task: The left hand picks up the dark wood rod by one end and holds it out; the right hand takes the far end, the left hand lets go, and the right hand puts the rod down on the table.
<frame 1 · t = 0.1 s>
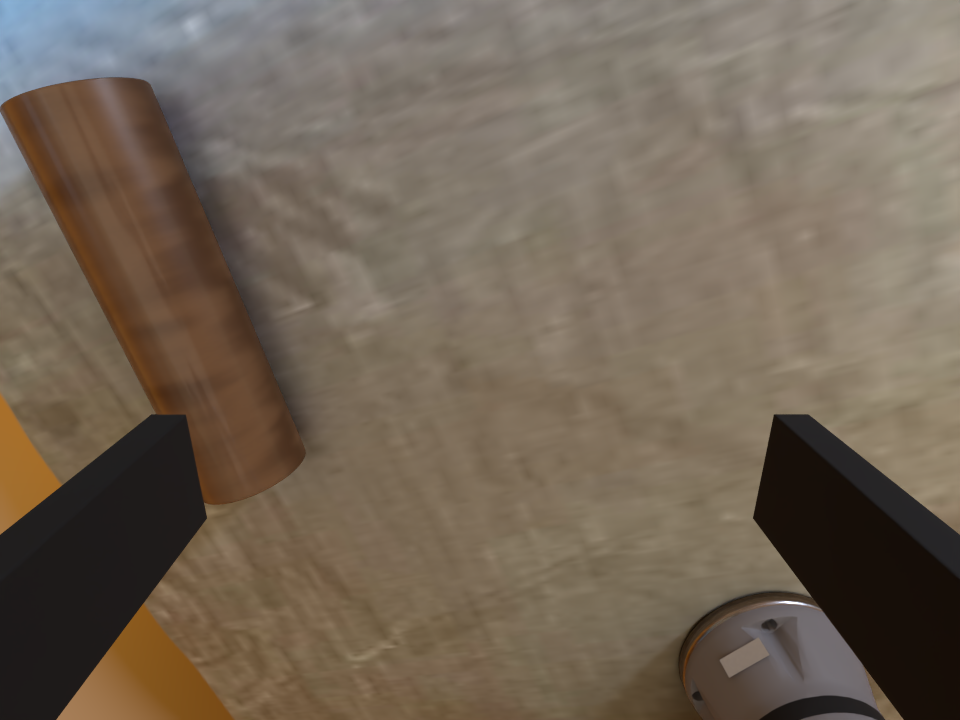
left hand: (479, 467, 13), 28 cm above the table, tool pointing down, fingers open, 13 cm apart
rod: (204, 293, 40), on the table
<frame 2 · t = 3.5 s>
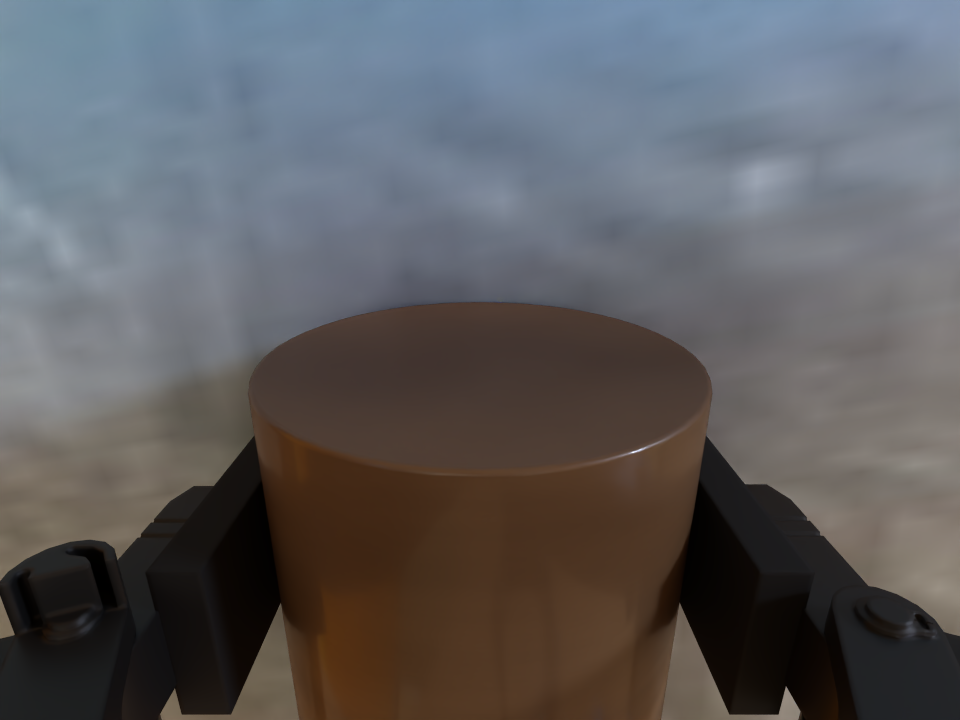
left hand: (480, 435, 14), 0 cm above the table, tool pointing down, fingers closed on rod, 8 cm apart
rod: (480, 689, 18), on the table, touching left hand
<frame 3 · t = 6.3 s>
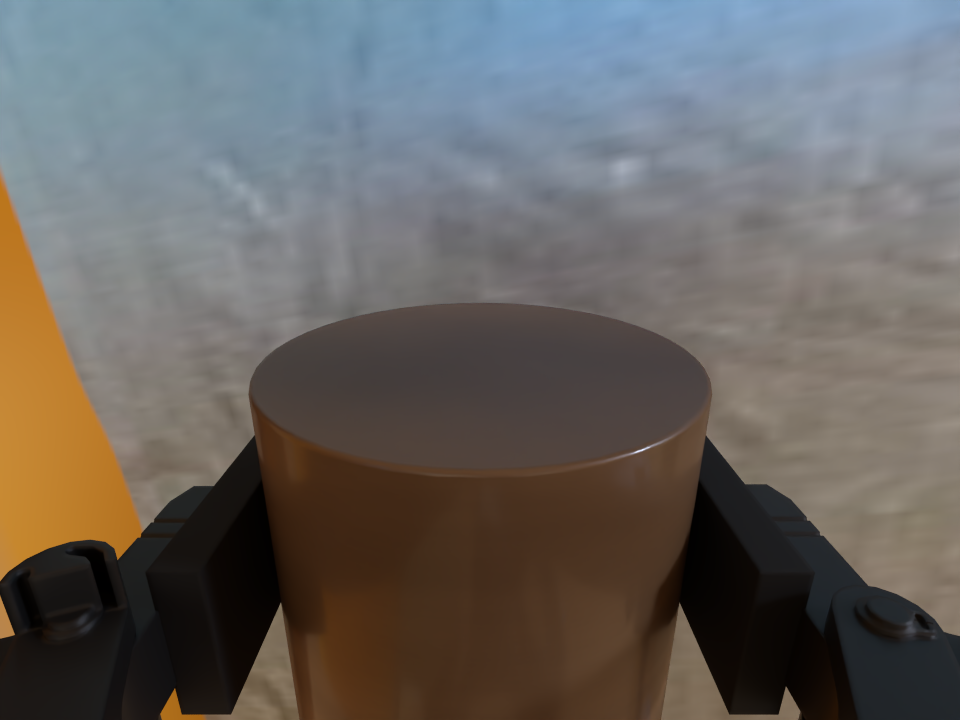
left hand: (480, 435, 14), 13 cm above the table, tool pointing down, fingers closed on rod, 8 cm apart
rod: (480, 690, 18), point 12 cm above the table, touching left hand
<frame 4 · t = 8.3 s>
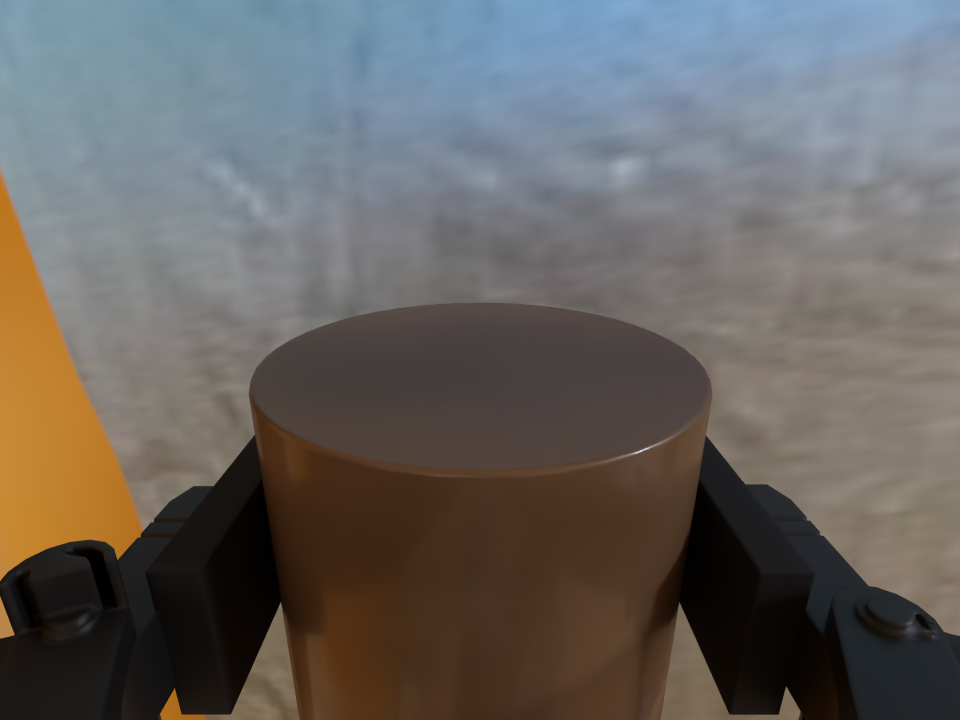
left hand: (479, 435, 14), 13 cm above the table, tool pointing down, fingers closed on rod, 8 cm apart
rod: (479, 689, 18), point 12 cm above the table, touching left hand, right hand
when the left hand's fingers open (13 cm above the table, at t = 9.4 s): rod stays where it is, held by the right hand.
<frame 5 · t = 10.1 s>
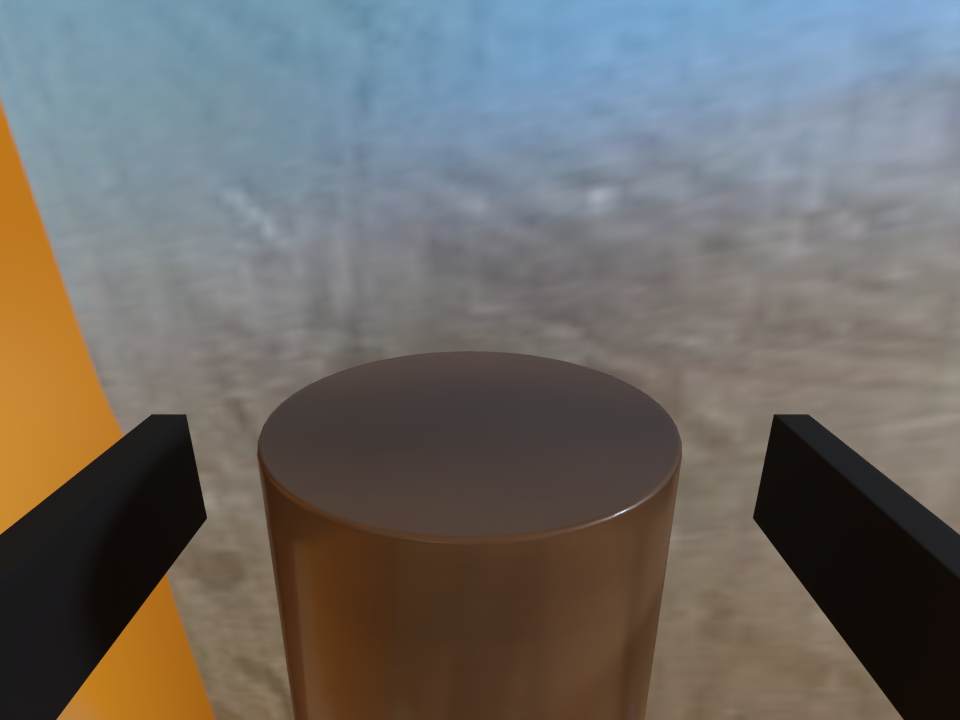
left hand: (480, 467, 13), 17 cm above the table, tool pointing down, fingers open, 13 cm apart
rod: (471, 716, 18), point 14 cm above the table, touching right hand
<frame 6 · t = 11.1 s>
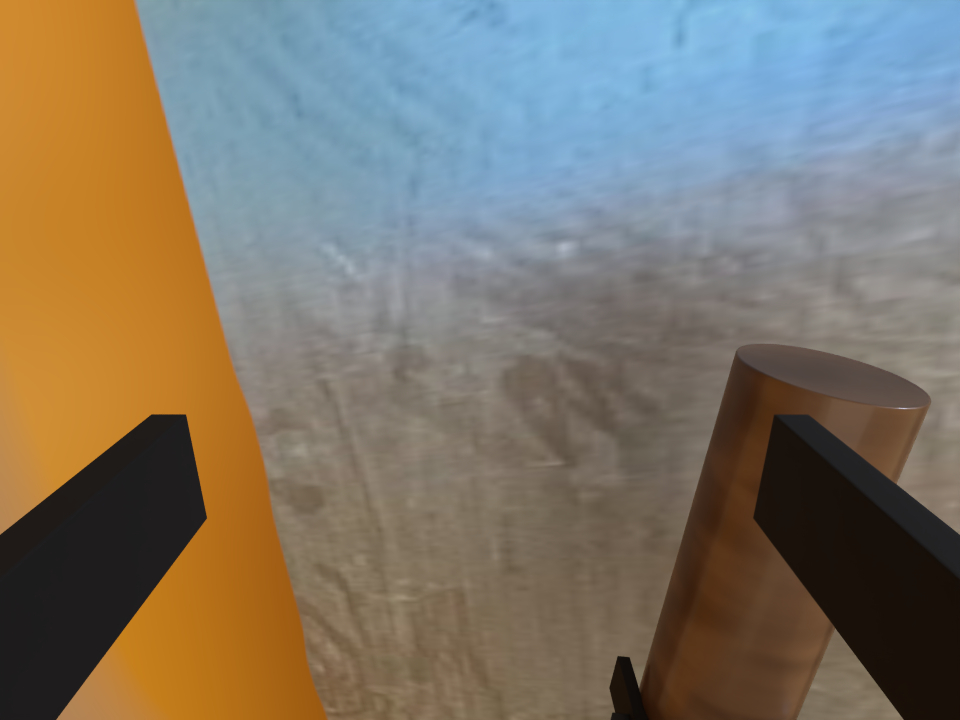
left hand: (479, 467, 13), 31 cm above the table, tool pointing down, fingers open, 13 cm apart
rod: (719, 549, 33), point 15 cm above the table, touching right hand
when the right hand's fingers open (2 cm above the table, at t = 14.1 s): rod drops 2 cm, on the table.
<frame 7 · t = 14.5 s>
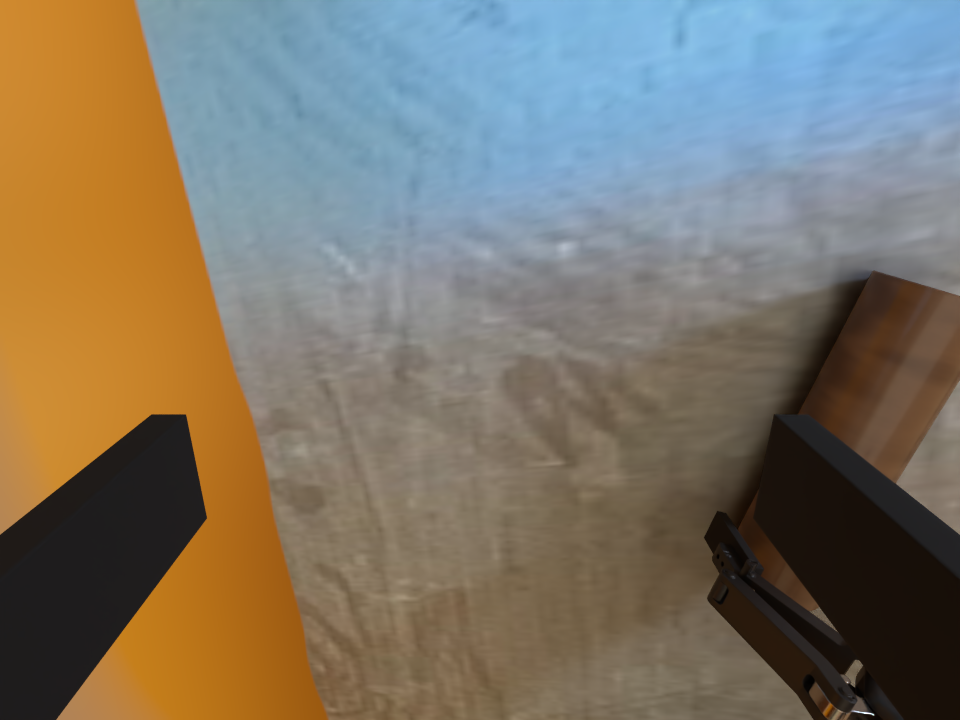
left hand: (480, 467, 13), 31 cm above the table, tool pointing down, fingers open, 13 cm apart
rod: (817, 423, 46), on the table
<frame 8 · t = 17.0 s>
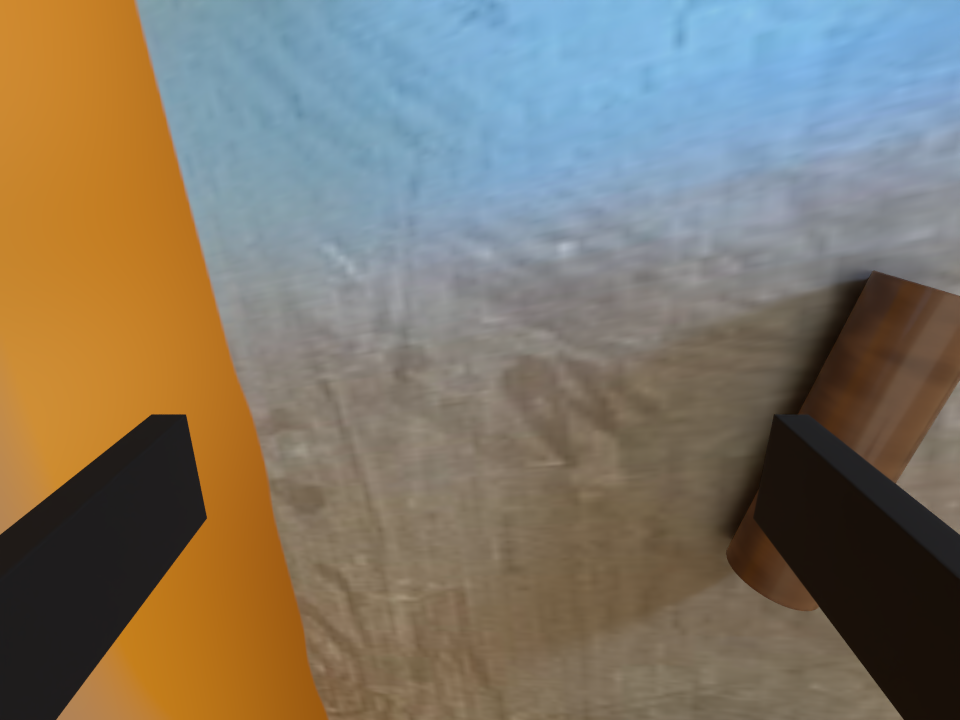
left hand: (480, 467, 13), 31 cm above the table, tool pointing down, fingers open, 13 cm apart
rod: (817, 423, 46), on the table
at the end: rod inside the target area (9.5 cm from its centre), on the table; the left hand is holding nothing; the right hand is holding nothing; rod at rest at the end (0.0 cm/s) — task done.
